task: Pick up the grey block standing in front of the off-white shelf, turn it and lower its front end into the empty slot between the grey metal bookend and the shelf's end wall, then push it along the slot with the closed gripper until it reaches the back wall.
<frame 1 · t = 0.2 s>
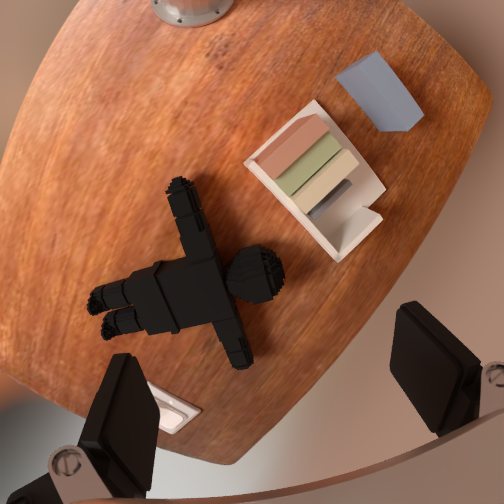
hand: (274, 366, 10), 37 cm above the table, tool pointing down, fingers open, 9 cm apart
toy: (185, 283, 49), on the table
grey block: (366, 97, 42), on the table
light switch: (162, 406, 58), on the table
shelf: (319, 175, 45), on the table
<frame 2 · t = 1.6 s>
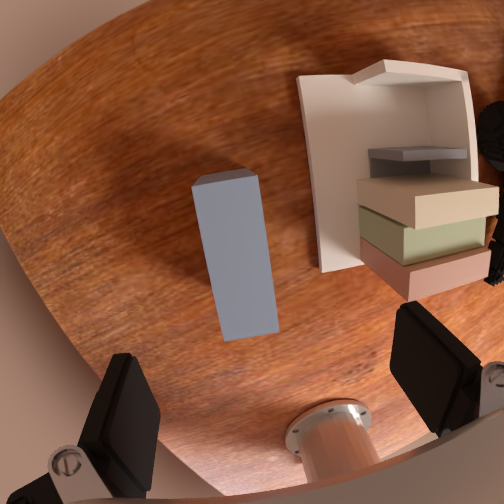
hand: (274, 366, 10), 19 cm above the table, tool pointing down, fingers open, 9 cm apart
grey block: (233, 232, 28), on the table
shelf: (378, 168, 27), on the table
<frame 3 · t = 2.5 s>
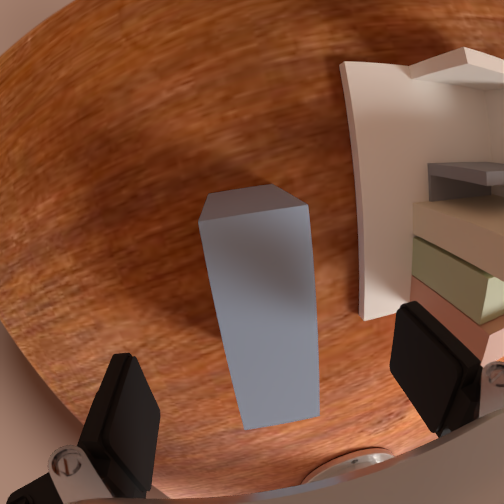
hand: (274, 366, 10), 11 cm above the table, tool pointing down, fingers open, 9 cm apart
grey block: (252, 270, 21), on the table
shelf: (435, 188, 20), on the table
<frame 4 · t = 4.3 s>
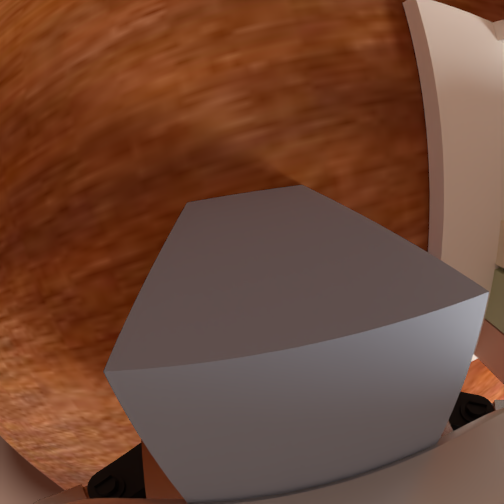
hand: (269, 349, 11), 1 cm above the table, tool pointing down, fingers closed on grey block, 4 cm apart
grey block: (264, 329, 12), on the table, touching gripper
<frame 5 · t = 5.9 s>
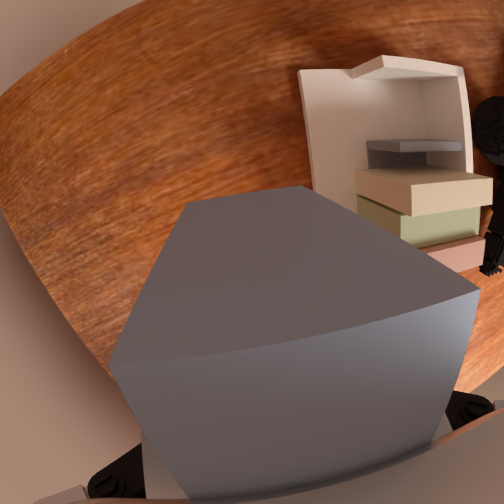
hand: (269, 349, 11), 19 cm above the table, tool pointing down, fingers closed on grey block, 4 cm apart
grey block: (264, 328, 13), point 17 cm above the table, touching gripper
shelf: (376, 159, 28), on the table
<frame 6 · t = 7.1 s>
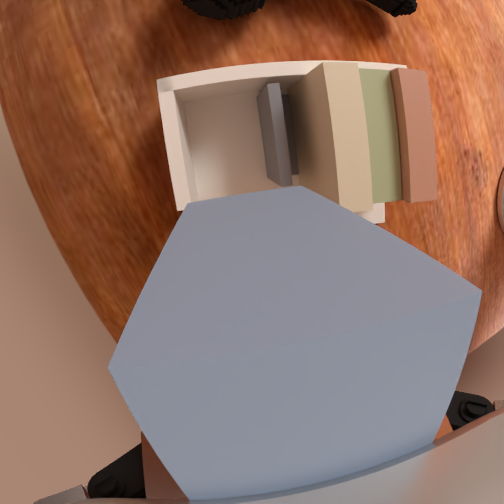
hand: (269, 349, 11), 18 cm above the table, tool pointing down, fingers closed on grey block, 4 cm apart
grey block: (264, 328, 13), point 17 cm above the table, touching gripper
shelf: (285, 157, 27), on the table
when the fingers open (3 cm above the table, at t = 10.0 s): grey block stays where it is, point 1 cm above the table.
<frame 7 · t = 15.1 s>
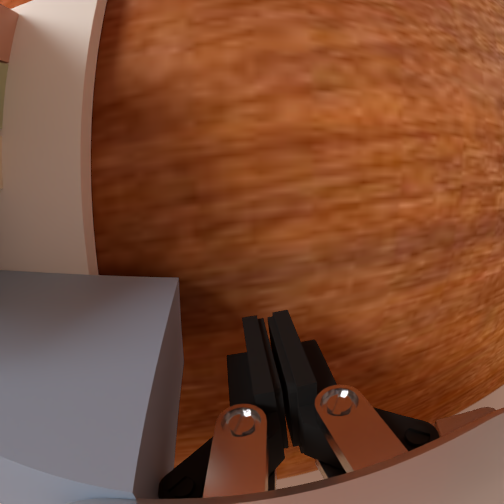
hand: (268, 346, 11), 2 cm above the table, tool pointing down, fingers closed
grey block: (60, 315, 11), point 1 cm above the table, touching gripper
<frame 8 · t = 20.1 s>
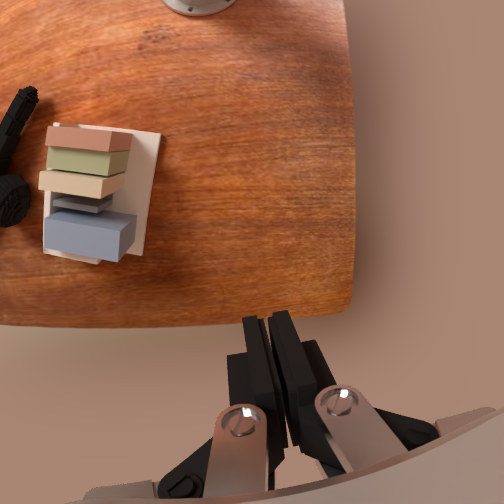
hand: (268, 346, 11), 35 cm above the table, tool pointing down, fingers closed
grey block: (101, 223, 42), point 1 cm above the table, touching shelf
shelf: (106, 188, 42), on the table
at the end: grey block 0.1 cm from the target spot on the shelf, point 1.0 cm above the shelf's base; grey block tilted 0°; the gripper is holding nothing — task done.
